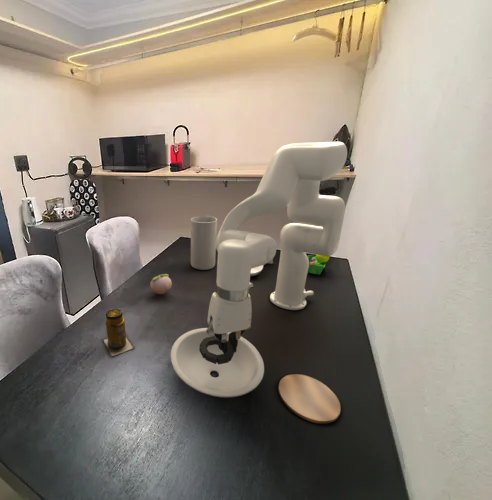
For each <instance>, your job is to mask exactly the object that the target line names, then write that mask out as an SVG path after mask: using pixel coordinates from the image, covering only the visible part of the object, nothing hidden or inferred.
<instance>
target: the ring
mask: <svg viewBox="0 0 492 500" xmlns="http://www.w3.org/2000/svg"><path fill="white" fill-rule="evenodd" d="M226 341H227V340H226ZM218 342H219V339H218V338H216V337H215V336H214V337H213V336H212V337H207V338H205V339H203V340H202V342H201V343H200V348H199V351H200V353H201V355H202V357H203V358H205V360H207V361H209V362H211V363H214V364H216V363H218V365H219V364H224V363H229V361H231V359H232V357H233V355H234V348H233V346H232V345H231V344H230V342H229V341H227V342H228V347H227V351H226V353H225V354H220V355H216V354H213V353H211V352H209V351H208V349H207V347H208V346H210V345H215V344H216V345H218Z"/></svg>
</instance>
